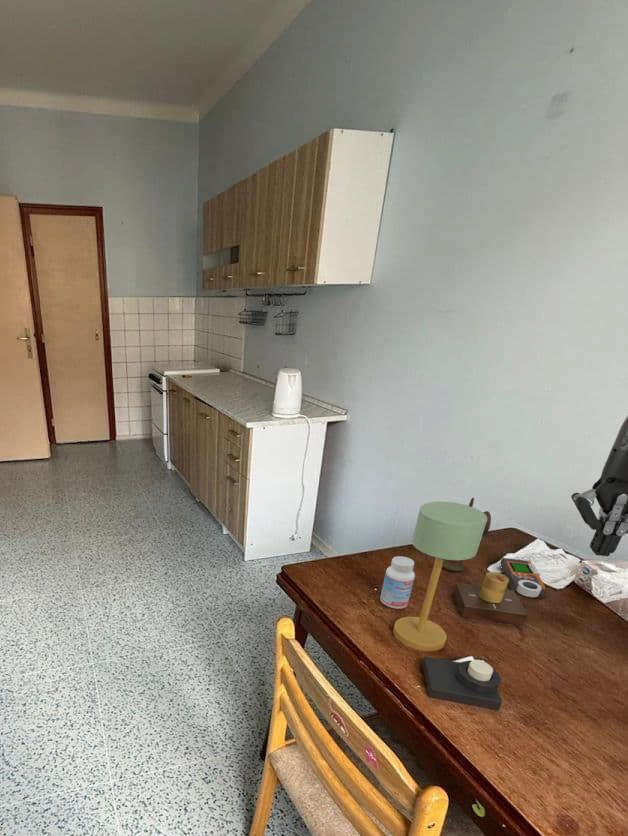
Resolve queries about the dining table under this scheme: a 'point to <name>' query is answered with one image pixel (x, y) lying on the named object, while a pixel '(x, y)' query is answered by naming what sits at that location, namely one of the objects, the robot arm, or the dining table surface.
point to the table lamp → (440, 562)
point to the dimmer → (489, 606)
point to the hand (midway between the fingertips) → (599, 553)
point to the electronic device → (523, 577)
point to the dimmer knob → (493, 587)
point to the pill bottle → (398, 583)
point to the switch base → (460, 684)
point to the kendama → (457, 564)
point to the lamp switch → (480, 670)
